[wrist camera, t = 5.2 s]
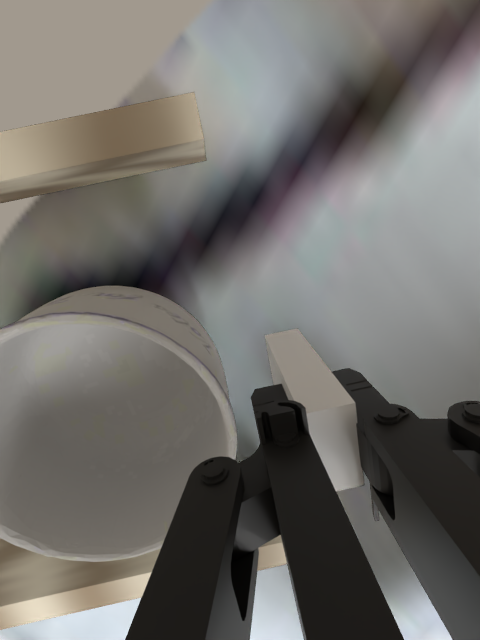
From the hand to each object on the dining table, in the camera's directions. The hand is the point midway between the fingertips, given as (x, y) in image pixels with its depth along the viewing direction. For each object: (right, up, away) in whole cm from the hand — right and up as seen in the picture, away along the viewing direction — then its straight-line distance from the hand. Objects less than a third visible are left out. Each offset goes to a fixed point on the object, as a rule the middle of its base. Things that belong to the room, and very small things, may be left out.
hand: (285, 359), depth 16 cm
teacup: (-10, -1, +4) cm, 11 cm away
